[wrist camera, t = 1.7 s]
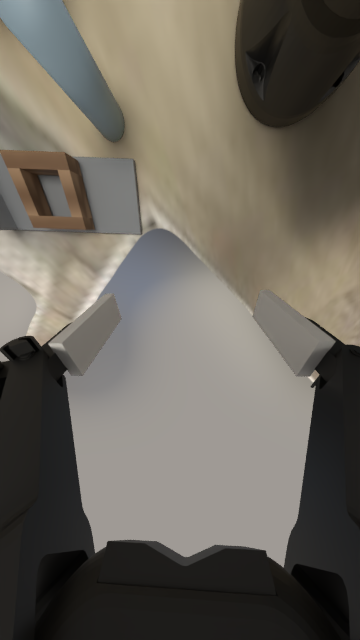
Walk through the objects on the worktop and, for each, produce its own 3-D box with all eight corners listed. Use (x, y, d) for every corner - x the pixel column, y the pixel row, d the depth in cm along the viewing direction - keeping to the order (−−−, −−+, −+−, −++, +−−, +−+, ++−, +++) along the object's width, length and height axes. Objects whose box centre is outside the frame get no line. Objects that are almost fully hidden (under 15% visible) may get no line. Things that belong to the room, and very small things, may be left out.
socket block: (19, 158, 22) (-1, 149, 20) (78, 160, 22) (64, 152, 20) (47, 227, 27) (33, 227, 25) (95, 229, 27) (86, 229, 25)
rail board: (-27, 155, 23) (-130, 120, 15) (134, 161, 23) (110, 129, 15) (11, 229, 28) (-51, 229, 21) (141, 234, 28) (126, 236, 21)
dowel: (92, 97, 20) (-43, -95, 8) (121, 98, 20) (29, -92, 8) (100, 141, 22) (3, 42, 10) (126, 142, 22) (60, 44, 10)
